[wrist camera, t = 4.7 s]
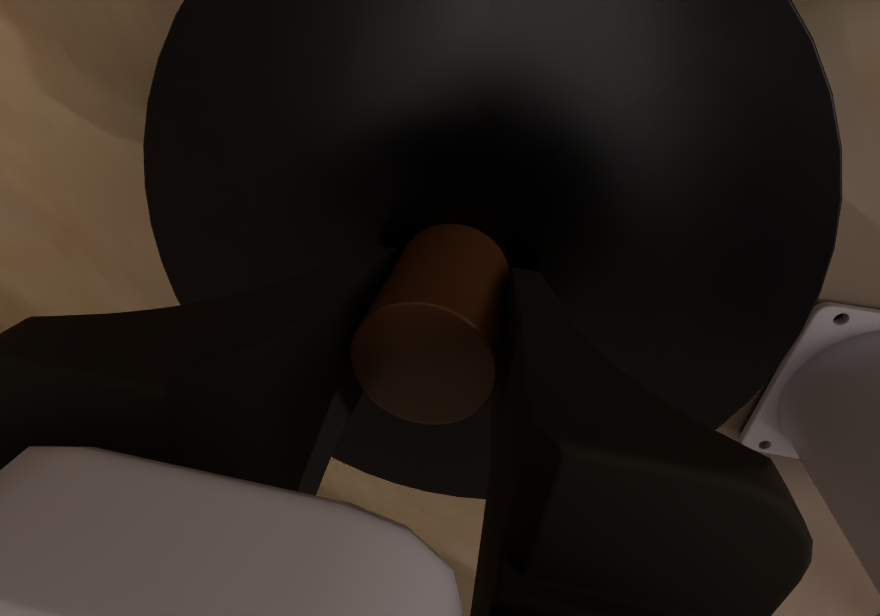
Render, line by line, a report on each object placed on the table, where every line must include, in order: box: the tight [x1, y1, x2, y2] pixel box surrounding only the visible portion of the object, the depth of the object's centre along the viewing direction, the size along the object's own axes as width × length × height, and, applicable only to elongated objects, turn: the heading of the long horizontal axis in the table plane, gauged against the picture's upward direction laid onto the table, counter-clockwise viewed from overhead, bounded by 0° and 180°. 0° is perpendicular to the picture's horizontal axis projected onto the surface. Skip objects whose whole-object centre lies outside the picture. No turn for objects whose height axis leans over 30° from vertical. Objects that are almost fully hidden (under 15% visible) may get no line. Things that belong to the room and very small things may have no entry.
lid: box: [143, 0, 842, 499], centre depth 10 cm, size 15×15×5 cm
